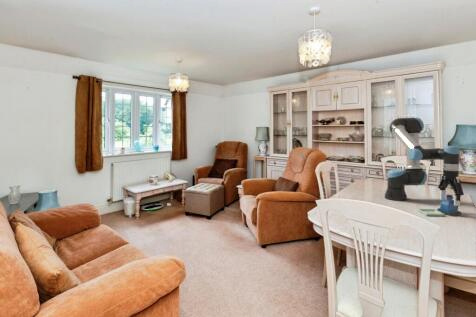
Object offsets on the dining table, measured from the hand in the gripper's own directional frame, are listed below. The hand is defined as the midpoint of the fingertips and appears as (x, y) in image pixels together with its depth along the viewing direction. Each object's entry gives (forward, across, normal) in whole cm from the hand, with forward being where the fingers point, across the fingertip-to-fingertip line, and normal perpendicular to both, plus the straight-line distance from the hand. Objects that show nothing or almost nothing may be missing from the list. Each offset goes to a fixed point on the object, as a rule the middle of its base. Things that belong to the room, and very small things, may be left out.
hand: (449, 202), depth 158 cm
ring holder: (+7, 0, 0) cm, 7 cm away
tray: (+7, +2, -12) cm, 14 cm away
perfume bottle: (+7, 0, 0) cm, 7 cm away
